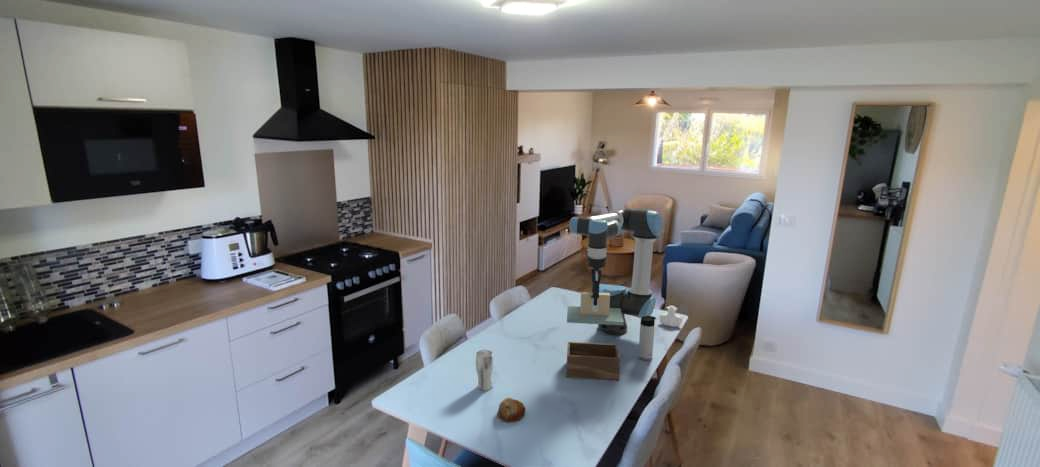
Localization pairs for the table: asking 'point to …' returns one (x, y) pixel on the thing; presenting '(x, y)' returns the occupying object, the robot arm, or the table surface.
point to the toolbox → (593, 361)
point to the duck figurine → (670, 318)
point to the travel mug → (646, 337)
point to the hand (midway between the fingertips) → (594, 310)
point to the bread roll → (511, 410)
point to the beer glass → (484, 369)
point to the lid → (601, 317)
